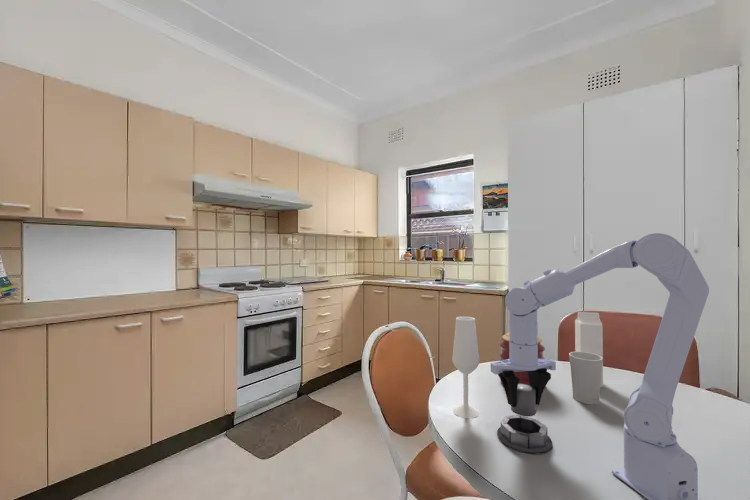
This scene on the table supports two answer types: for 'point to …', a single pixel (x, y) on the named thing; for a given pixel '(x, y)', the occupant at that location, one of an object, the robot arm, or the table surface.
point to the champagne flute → (465, 359)
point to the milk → (589, 335)
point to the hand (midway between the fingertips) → (523, 404)
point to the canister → (505, 355)
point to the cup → (586, 376)
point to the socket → (524, 434)
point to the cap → (525, 400)
